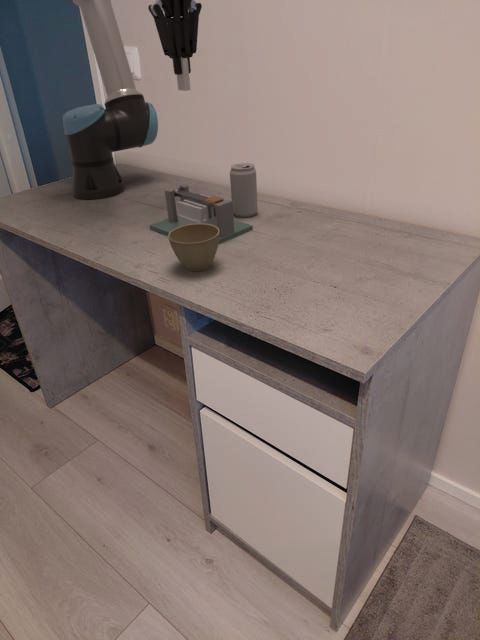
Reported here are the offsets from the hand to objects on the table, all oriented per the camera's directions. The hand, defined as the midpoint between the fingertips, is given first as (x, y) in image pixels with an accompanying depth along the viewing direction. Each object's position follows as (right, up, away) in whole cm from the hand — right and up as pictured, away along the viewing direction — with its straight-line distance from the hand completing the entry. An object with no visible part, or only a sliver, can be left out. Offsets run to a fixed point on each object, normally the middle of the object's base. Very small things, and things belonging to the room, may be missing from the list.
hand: (184, 90), depth 110 cm
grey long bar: (+3, -26, -1) cm, 26 cm away
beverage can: (+14, -27, +10) cm, 32 cm away
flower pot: (+4, -43, -14) cm, 45 cm away
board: (+4, -32, +3) cm, 32 cm away
